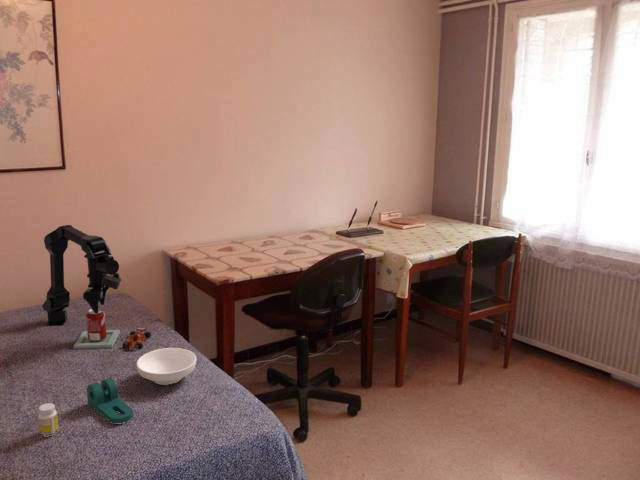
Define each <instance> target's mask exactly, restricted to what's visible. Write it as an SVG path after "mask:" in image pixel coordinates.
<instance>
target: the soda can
mask: <svg viewBox="0 0 640 480" xmlns="http://www.w3.org/2000/svg"><path fill="white" fill-rule="evenodd" d="M103 309H104V308H101V307H99V310H98V313H95V312H94V311H93V309H92V308H90V309H88V311H87V314H86V315H85V316H86V327H87V328H86V331H88V340H90V341H93V342H99V341H102V340H104V339H105V338H106V337H107V334H106V330H107V324H106V313H105V312H104V310H103Z"/></svg>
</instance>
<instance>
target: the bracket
mask: <svg viewBox="0 0 640 480" xmlns="http://www.w3.org/2000/svg"><path fill="white" fill-rule="evenodd" d="M86 394H87V395H86V397H87V405H88V404H89V406H90V405H91V406H92V407H93V408H95V409H96V410H97V411H98V412H99V413H101V414H102V415H103V416H104V417H106V418H107V419H108V420H109V421H110V422H112V423H123V422H127V421H128V420H130V419H131V418H132V417H133V418H134V413H133V412H134V411H133V408H132V407H130V406H129V405H128V404H127V403H125V402H124V401H123V400H121V399H120V398H119V388H118V385H117V383H116V381H115V379H114V378H113V377H108V378H104V379H102V380H101V382H100V383H98V382H97V381H96V382H93V383H91V384H88V385H87V387H86ZM91 406H90V407H91ZM92 407H91V408H92ZM93 408H92V409H93ZM96 410H95V411H96ZM97 411H96V412H97ZM116 411H118V412H120V413H121V414H122V415H120V414H119V413H118V412H116ZM98 412H97V413H98ZM99 413H98V414H99ZM103 416H102V417H103ZM104 417H103V418H104ZM109 421H108V422H109ZM110 422H109V423H110Z"/></svg>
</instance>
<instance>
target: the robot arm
mask: <svg viewBox="0 0 640 480" xmlns="http://www.w3.org/2000/svg"><path fill="white" fill-rule="evenodd" d="M69 241H70V242H73V243H75V244H76V245H78V246H79V247H80V249H81V251H83V252H84V253H85V255H84V256H83V258H85V259H86V261H87V271H88V273H87V274H86V277H87V278H88V281H89V283H88V286H87V289H86V290H85V291H84V292H83V293H82V299H84V301H86V303H88V305H89V306H90V309H93V311H94V312H95V313H98V310H99V308H100V305H101V306H104V305H105V301H106V295H107V291H108V290H109V289H110V288H111V289H113V290H118V289H119V287H120V285H121V281H122V277H120V273H118V272H119V269H120V263H119V262H118V261H117V260H116V259H115V257H114V256H112V253H111V249H110V248H109V245H107V244H108V243H107V242H106V240H105V239H104V238H103V237H101V236H99V235H89V234H87V233H85V232H83V231H81V230H79V229H77V228H75V227H74V226H72V225H71V224H65V225H61V226H58V227H57V228H56V229H54V230H52V231H51V232H49V233H48V234H47V233H46V235H45V236H44V238H43V243H44V246H45V247H44V248H45V249H46V251H47V252H48V253H49V264H50V265H49V266H50V267H49V268H50V287H49V289H48V291H47V293H46V299H45V301H44V302H43V304H42V309H43V311H44V312H47V323H46V325H47V326H63V325H65V323H66V322H67V320H68V318H69V317H68V311H67V310H66V308H69V305H70V300H71V298H70V297H71V296H70V295H71V294H70V293H71V292H70V291H69V290H68V289H67V288H66V287H65V270H64V269H65V268H64V264H65V262H64V254H65V252H66V251H67V249H68V247H69V246H68V244H69Z"/></svg>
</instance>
